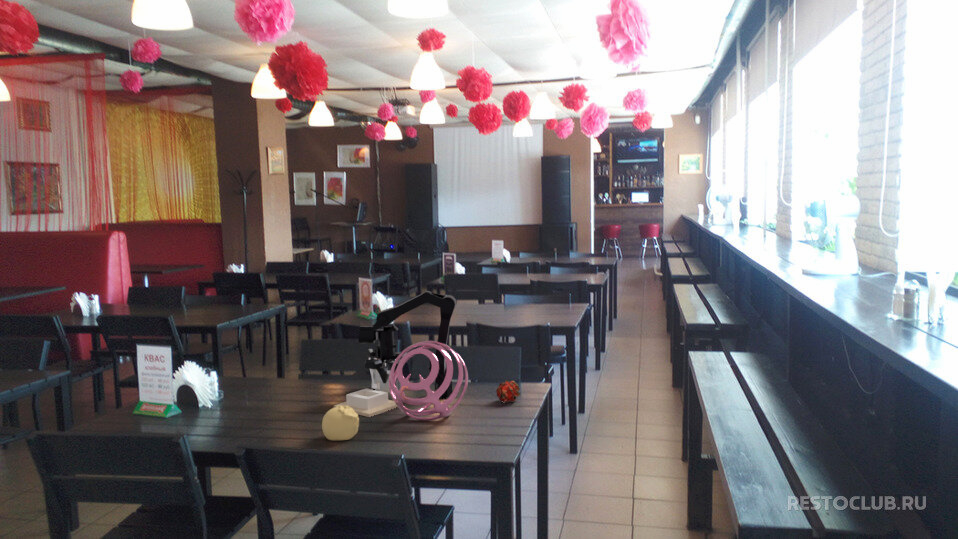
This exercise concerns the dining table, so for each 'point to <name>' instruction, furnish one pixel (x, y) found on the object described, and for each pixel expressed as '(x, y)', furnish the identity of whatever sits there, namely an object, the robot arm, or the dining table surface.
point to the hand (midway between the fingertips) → (388, 381)
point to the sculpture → (340, 423)
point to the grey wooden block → (385, 386)
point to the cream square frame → (368, 402)
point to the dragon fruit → (508, 391)
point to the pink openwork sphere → (427, 382)
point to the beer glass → (375, 378)
